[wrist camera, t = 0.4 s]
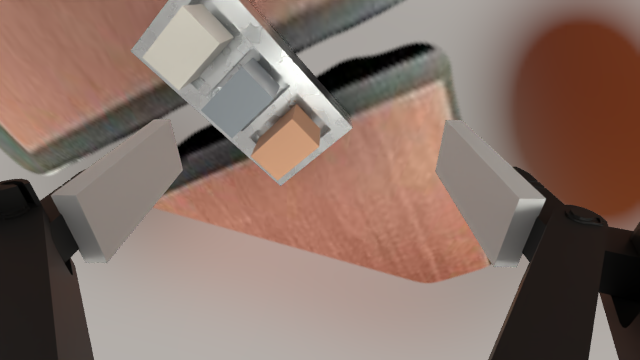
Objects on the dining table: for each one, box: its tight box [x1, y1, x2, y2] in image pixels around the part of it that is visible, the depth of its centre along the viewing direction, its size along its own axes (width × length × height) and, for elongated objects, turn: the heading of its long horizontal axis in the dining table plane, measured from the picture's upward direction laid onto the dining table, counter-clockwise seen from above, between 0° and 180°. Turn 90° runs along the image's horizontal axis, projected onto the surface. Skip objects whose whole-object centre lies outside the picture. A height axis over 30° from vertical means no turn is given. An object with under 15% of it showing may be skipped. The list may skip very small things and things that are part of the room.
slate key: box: [201, 58, 280, 138], centre depth 33 cm, size 4×6×5 cm, turn 132°
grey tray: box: [131, 0, 353, 186], centre depth 37 cm, size 22×12×4 cm, turn 42°
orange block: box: [251, 104, 320, 181], centre depth 35 cm, size 4×6×5 cm, turn 132°
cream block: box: [142, 4, 234, 90], centre depth 31 cm, size 4×6×5 cm, turn 132°
